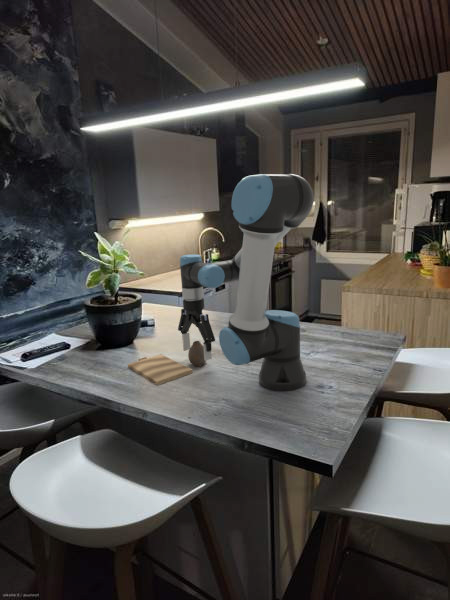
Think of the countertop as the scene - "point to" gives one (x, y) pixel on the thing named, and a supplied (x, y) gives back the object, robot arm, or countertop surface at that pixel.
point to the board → (159, 369)
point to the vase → (196, 354)
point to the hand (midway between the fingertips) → (197, 354)
